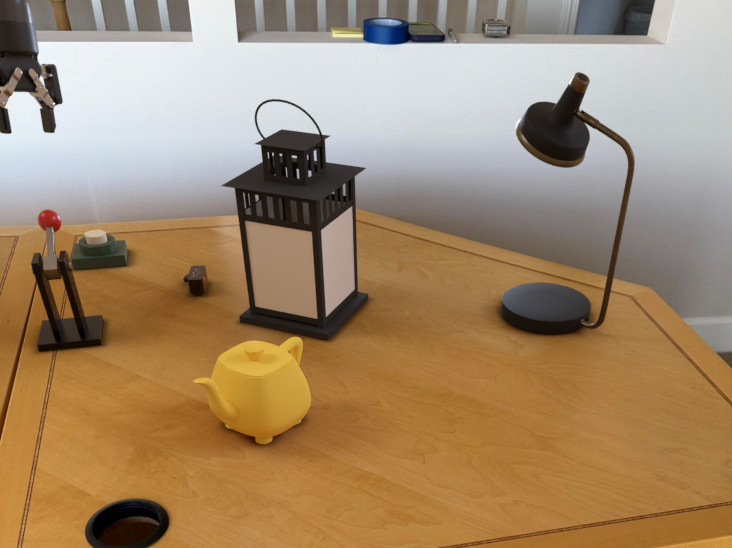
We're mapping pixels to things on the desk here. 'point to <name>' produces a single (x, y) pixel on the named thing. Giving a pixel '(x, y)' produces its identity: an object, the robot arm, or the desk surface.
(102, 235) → the button
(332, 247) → the lantern
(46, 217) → the switch lever
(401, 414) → the desk surface
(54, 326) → the switch bracket
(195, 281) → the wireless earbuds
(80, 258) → the lamp box
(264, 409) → the teapot
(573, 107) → the lamp
